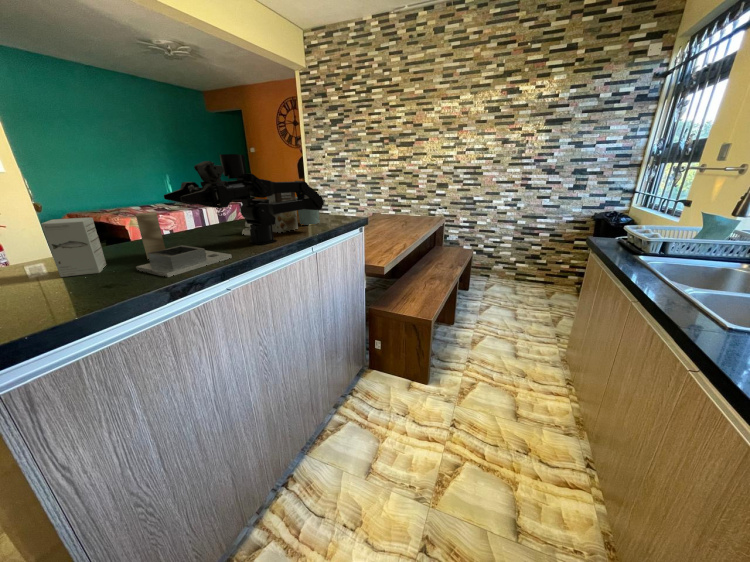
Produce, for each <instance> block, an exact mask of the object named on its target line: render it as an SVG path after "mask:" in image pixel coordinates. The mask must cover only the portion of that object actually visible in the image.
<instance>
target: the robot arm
mask: <svg viewBox="0 0 750 562" xmlns="http://www.w3.org/2000/svg"><path fill="white" fill-rule="evenodd" d="M219 158H220V163H221V165H217V164H216V165H215V162H212V161H211V160H204V161H202V162H199V163H197V164H195V165H194V166H193V168H194V170H195V171H196V172H197V174H198V176H199V177H200V179H201V181H200V186H201V187H200V186H199V184H198V183H196V182H195V181H184V182H183V181H182V182H181V185H180V188H179V189H176V190H174V191H171V192H168V193H166V194H163V198H164V200H167V201H171V202H175V203H181V204H185V205H188V206H189V205H190V206H195V205H199V206H204V207H209V208H217V209H225V208H229V206H230V204H231V203H232V202H236V201H241V207H240V209H241V213H240V215H241V216H242V217H243V218H244V220H245V222H247V224H252V225H250V227H251V230H250V235H249V236H250V240H249V243H250V244H256V245H263V246H264V245H266V244H270V243H275V242H277V241H278V239H275V238H274V232H273V230H272V225H273V224H275V220H276V218H275V217H274V216H273V215H275V214H280V213H286V212H292V211H297V212H298V210H303V209H307V210H319V211H321V210H322V209H323V207H324V199H323V196H322V195H320V194H319V193H318V191H317V190H315V189H314V188H312V187H311V186H310V185H309V183H308V182H306V181H305V180H294V181H272V180H269V179H263V178H259V177H258V176H256V175H255V174H253V173H248V172H247V165H246V157H245V154H238V153H224V154H223V153H222V154H219ZM223 175H224V177H227V179H228V181H227V180H222V176H223ZM229 179H230V181H229ZM233 179H236V180H233ZM290 192H295V196H296V197H297V198H298V199H294V200H287V201H280V202H272V203H269V199H267V197H268V196H272V195H273V194H276V193H290ZM253 198H254V199H253ZM265 198H266V199H265ZM250 227H249V228H250Z"/></svg>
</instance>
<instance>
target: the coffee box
mask: <svg viewBox="0 0 750 562" xmlns="http://www.w3.org/2000/svg"><path fill="white" fill-rule="evenodd" d="M295 197H296V193H295V192H290V193H276V194H273V195H272V196H268V197H266V199H269V203H272V202H280V201H287V200H294V199H295ZM273 216H274V217H275V218H276V220H275V224H273V225H272V230H273V233H277V232H278V234H282V233H281V232H283V233H287V232H286V231H289V232H291V231H290V230H294V231H296V230H295V229H298V230H299V226H298V210H297V211H292V212H286V213H280V214H275V215H273Z"/></svg>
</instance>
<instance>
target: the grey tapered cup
mask: <svg viewBox="0 0 750 562" xmlns="http://www.w3.org/2000/svg"><path fill="white" fill-rule="evenodd" d="M295 199H298V198H297V196H295ZM297 215H298V219H299V220H298V221H299V225H300V224H304V225H309V224H317V223H319V224H320V210H307V209H303V210H297Z"/></svg>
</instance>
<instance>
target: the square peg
mask: <svg viewBox="0 0 750 562" xmlns="http://www.w3.org/2000/svg"><path fill="white" fill-rule="evenodd" d="M135 218H136V221H137V222H136V223H137V225H138V229H139V232H140V237H141V240H142V244H143V248H144V252H145V254H146V258H147V260H148V259H149V257H148V254H147V253H150V252H154V251H159V250H163V249H166V246H165V242H164V237H163V234H162V229H161V227H160V222H159V217H158V213H157V212H145V213H136V214H135Z"/></svg>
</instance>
